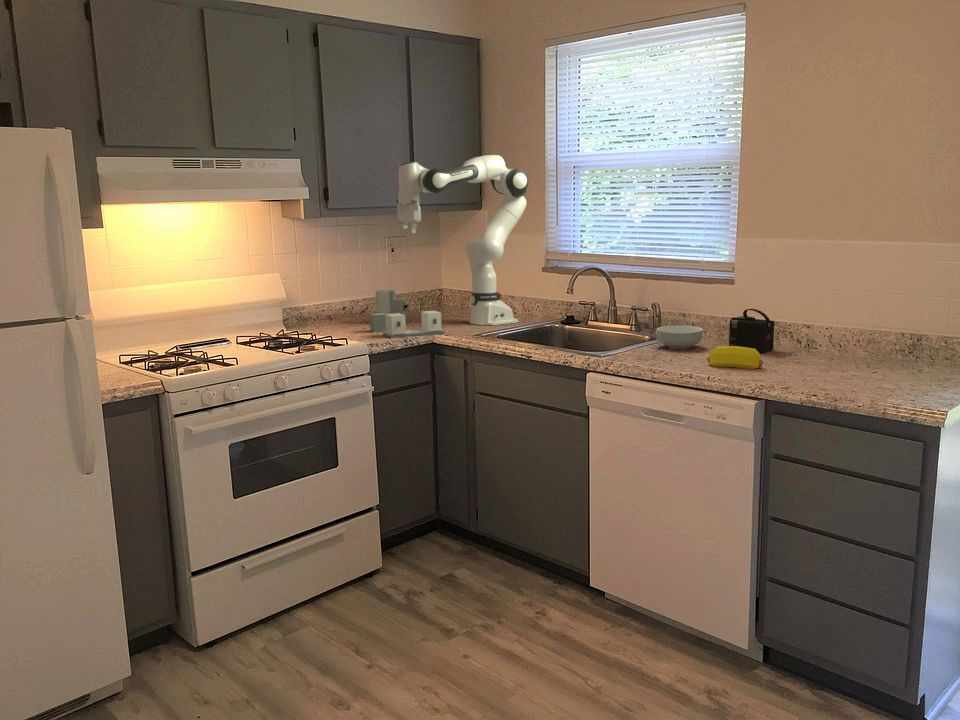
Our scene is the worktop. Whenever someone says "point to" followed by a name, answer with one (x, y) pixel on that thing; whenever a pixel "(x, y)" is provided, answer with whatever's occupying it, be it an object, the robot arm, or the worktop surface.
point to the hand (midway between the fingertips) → (409, 232)
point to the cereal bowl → (679, 336)
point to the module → (377, 322)
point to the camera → (752, 332)
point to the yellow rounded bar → (735, 357)
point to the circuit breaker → (389, 302)
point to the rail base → (398, 329)
